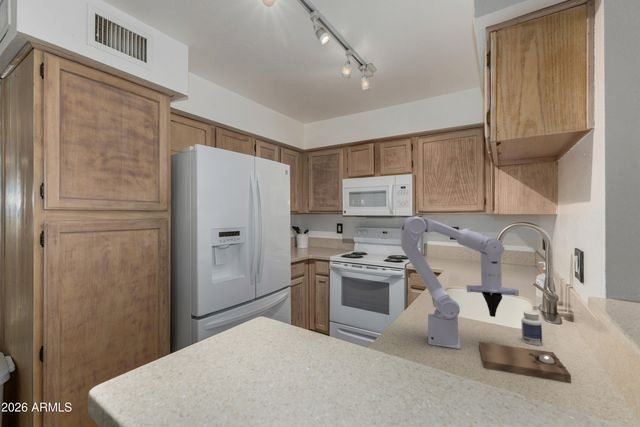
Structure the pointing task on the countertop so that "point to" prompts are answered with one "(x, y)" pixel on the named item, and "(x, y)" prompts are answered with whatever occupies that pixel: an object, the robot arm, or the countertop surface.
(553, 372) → the walnut board
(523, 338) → the pill bottle
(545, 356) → the steel ball
